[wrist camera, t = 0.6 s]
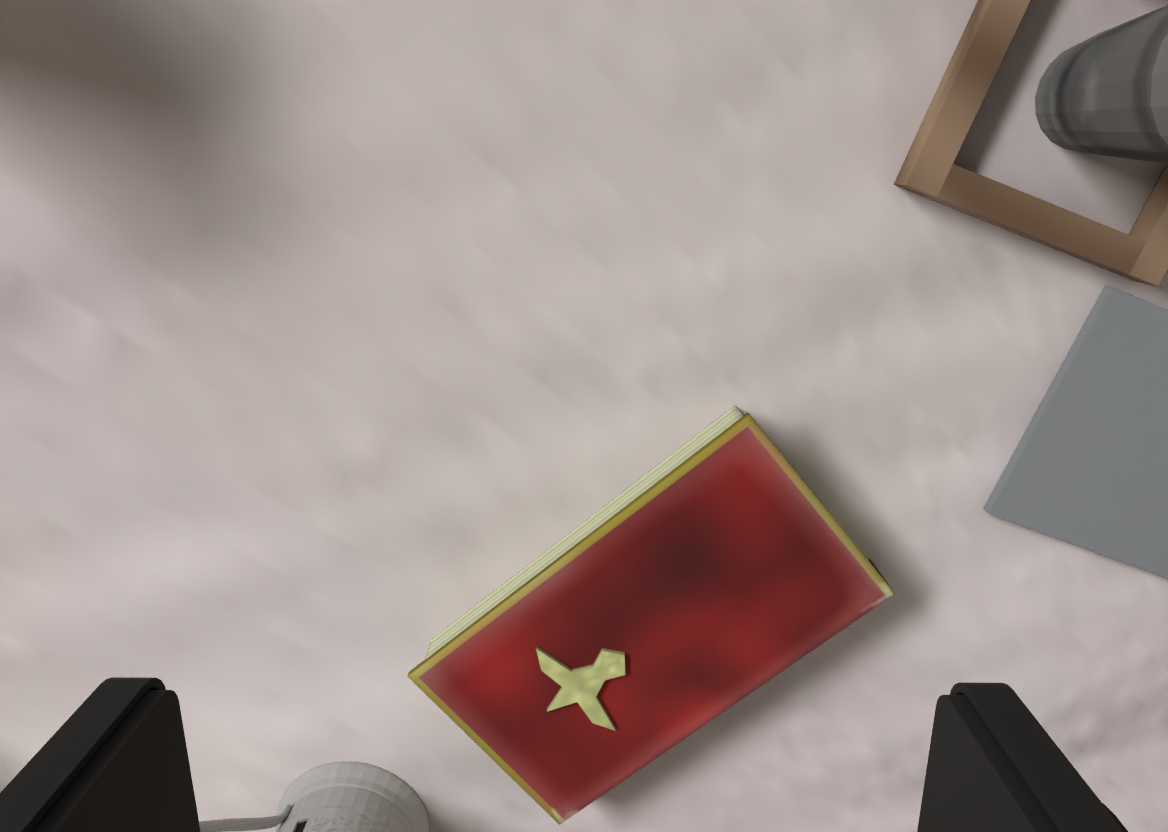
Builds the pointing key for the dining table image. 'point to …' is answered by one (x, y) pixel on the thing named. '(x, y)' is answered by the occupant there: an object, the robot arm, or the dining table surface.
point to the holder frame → (928, 170)
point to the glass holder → (340, 804)
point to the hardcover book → (650, 618)
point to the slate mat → (1100, 441)
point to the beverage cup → (1111, 92)
